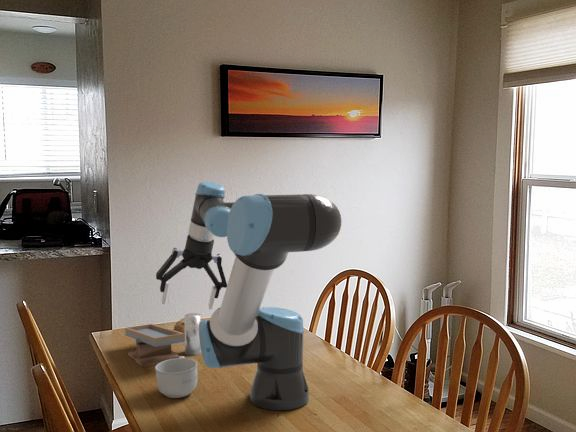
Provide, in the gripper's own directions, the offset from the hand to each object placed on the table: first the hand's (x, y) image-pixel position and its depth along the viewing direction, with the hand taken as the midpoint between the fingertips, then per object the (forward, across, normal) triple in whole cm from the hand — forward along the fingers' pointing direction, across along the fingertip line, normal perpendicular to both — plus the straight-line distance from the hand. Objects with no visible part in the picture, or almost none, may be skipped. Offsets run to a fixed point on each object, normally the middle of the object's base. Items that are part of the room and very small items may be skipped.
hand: (186, 304), depth 174 cm
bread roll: (+25, -7, -26) cm, 37 cm away
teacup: (+15, +1, +20) cm, 25 cm away
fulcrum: (+22, +6, -7) cm, 24 cm away
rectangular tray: (+17, +6, -8) cm, 20 cm away
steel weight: (+21, -6, -9) cm, 24 cm away
